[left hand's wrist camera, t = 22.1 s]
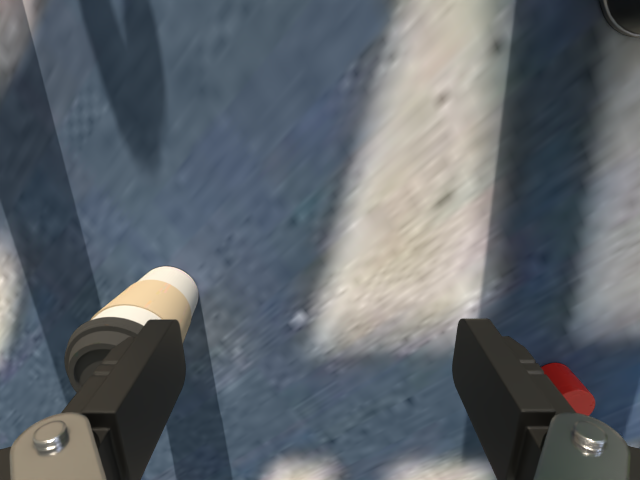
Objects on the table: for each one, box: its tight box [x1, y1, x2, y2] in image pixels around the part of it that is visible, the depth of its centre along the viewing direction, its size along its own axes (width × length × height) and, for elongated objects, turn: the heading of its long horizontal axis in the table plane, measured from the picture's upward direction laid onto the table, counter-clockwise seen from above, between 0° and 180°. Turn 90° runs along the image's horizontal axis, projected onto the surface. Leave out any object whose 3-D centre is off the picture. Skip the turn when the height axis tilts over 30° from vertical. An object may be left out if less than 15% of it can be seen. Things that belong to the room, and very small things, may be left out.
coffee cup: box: [65, 267, 199, 392], centre depth 40 cm, size 9×9×15 cm
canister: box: [541, 363, 595, 416], centre depth 49 cm, size 5×5×5 cm
